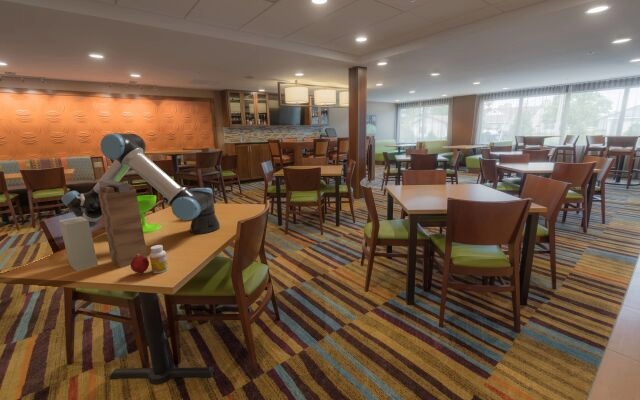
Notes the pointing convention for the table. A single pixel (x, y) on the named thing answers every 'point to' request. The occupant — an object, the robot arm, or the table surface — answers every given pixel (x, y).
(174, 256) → the table surface
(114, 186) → the bar
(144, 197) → the wineglass
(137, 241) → the stand
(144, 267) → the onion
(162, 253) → the supplement bottle
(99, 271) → the table surface
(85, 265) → the rest block
